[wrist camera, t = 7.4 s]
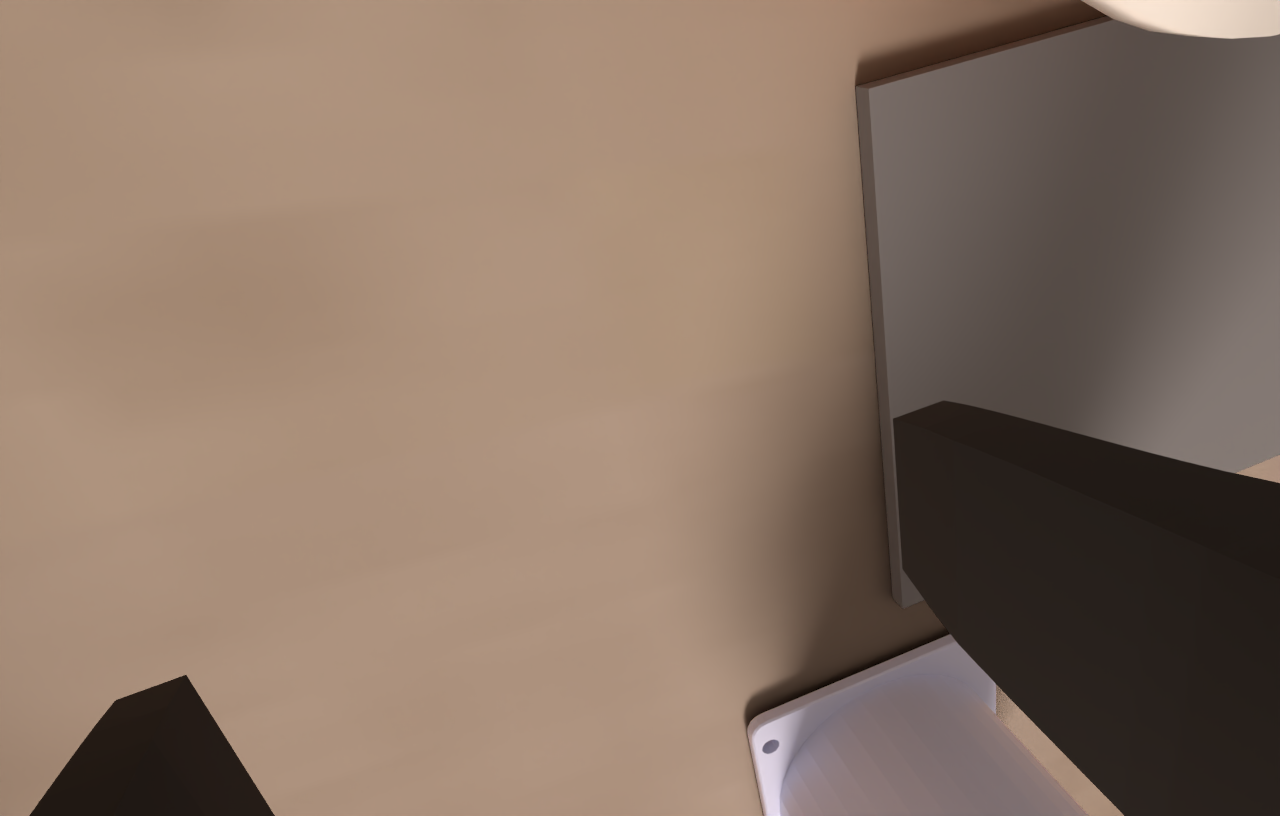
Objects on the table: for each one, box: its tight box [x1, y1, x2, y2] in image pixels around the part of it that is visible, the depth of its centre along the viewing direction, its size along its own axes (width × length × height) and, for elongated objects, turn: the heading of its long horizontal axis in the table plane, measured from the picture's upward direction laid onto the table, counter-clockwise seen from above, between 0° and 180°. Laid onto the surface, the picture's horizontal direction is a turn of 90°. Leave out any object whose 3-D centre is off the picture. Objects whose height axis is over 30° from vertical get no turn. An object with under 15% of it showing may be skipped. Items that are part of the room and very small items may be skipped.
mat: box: [856, 16, 1280, 609], centre depth 22 cm, size 14×14×1 cm
